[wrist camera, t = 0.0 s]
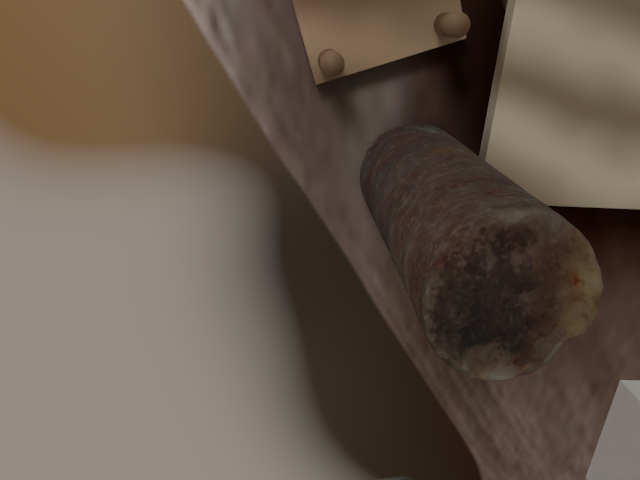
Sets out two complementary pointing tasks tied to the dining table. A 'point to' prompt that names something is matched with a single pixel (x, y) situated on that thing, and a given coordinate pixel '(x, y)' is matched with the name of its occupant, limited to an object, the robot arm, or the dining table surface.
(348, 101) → the dining table surface
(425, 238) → the brown wooden log
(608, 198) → the small wooden stool
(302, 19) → the upturned stool decor
